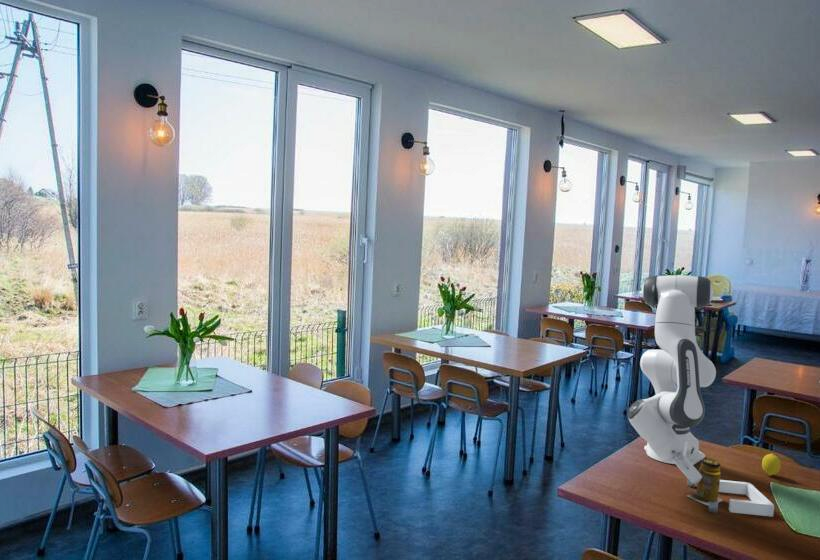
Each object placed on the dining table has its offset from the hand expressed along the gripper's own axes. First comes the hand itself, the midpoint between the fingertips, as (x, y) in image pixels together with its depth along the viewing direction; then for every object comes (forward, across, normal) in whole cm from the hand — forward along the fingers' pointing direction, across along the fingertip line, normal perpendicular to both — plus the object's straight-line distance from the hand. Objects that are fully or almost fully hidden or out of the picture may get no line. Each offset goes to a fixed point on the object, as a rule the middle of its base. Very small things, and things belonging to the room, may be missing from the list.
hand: (697, 479), depth 188 cm
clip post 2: (+6, -9, +3) cm, 11 cm away
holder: (+14, 0, -5) cm, 15 cm away
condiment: (+6, 0, +2) cm, 7 cm away
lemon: (+28, +26, -20) cm, 43 cm away
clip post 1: (+5, +9, +3) cm, 11 cm away
